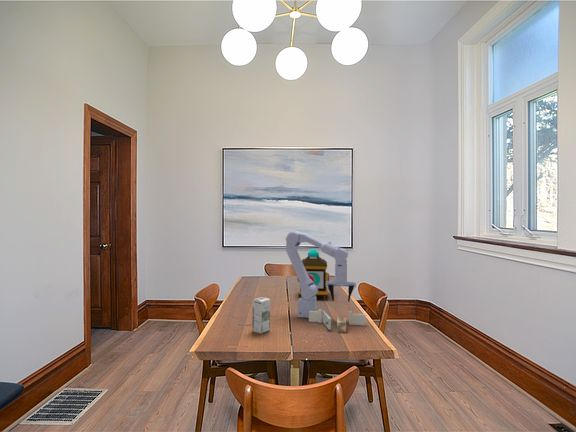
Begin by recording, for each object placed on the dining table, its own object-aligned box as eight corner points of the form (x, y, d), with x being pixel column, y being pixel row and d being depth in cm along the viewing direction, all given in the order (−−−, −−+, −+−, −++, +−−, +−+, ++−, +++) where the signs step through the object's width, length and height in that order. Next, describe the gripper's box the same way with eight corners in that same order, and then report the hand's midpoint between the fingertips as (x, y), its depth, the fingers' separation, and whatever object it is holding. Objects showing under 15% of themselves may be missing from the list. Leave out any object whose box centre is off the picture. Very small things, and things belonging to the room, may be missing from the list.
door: (320, 321, 162) (320, 311, 162) (324, 321, 162) (324, 311, 162) (326, 330, 151) (326, 318, 151) (330, 329, 151) (331, 318, 151)
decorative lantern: (329, 293, 219) (329, 247, 219) (329, 301, 200) (330, 250, 199) (298, 292, 221) (298, 246, 221) (296, 300, 202) (296, 250, 201)
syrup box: (261, 327, 155) (261, 296, 155) (270, 330, 151) (270, 298, 151) (252, 331, 151) (252, 299, 150) (261, 334, 147) (261, 301, 147)
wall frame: (308, 321, 163) (308, 309, 163) (309, 320, 165) (309, 308, 165) (365, 325, 158) (365, 313, 158) (365, 324, 159) (365, 312, 159)
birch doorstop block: (336, 332, 150) (337, 322, 150) (337, 326, 158) (337, 316, 158) (346, 332, 150) (346, 322, 150) (345, 326, 157) (346, 316, 157)
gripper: (325, 274, 164) (325, 302, 164) (356, 275, 161) (355, 303, 161) (326, 271, 171) (326, 298, 171) (356, 272, 168) (355, 299, 168)
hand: (340, 300), depth 166 cm, fingers open, 7 cm apart
